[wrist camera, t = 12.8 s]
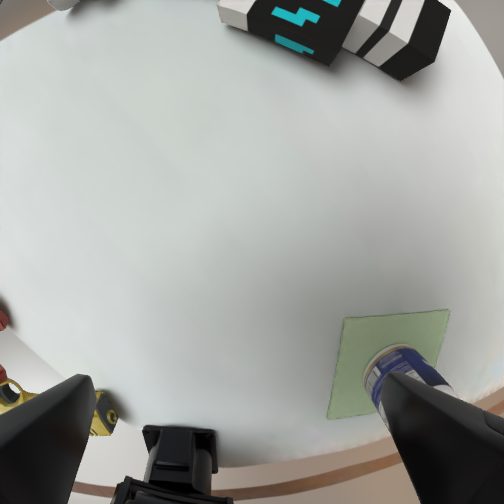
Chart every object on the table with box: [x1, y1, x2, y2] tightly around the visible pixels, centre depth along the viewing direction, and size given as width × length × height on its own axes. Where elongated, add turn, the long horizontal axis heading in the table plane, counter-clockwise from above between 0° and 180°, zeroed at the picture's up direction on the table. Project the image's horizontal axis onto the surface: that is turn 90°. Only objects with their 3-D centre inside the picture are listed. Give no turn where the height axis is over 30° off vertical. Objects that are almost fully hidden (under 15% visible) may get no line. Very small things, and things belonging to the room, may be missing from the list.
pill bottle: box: [363, 344, 459, 433], centre depth 19 cm, size 5×5×10 cm
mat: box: [327, 310, 450, 420], centre depth 24 cm, size 10×10×1 cm
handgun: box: [0, 378, 118, 436], centre depth 21 cm, size 2×19×12 cm
